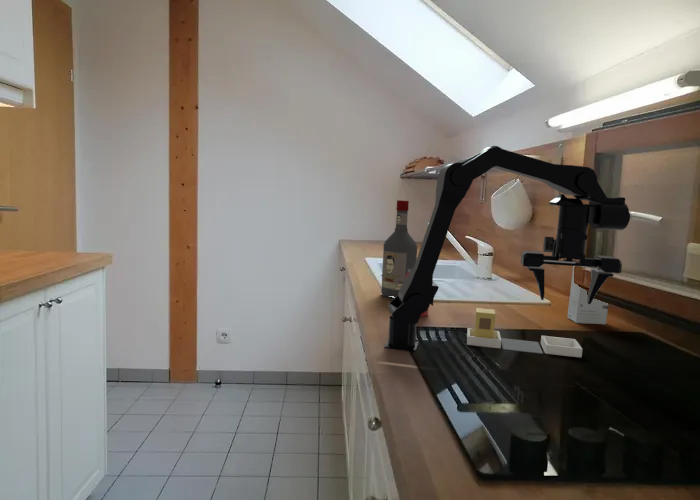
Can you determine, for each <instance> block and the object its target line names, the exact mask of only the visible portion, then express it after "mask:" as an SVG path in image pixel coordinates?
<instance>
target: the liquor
mask: <svg viewBox="0 0 700 500" xmlns="http://www.w3.org/2000/svg"><path fill="white" fill-rule="evenodd" d="M409 204H410V203H409V200H399V199H398V200H396V220H395V228H394V231H393V232H392V233H391V235H389V237H388V238H387V239H386V240H385V241H384V243H383V248H382V249H383V254H382V271H381V272H382V273H381V288H380V291H381V294H382V297H385V298H387V297H386V296H394V297H396V296H397V295H398V294H399V290H400V288H401V286H402V284H403V283H404V281H405V278H406V275H407V273H408V270H412V269H413V267H414V265H415V263H416V260H417V257H418V245H417V243H416V241H415V240H414V238H413V237H412V236H411V234H410V233H409V231H408V214H409V213H408V211H409Z"/></svg>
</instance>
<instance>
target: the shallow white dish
mask: <svg viewBox="0 0 700 500" xmlns="http://www.w3.org/2000/svg"><path fill="white" fill-rule="evenodd" d="M474 329H475V327H474V328H472V327H467V332H466V345H468V346H475V347H483V348H493V349H501V348H502V342H501V338H502V337H501V333H500V331H499V330H494V339H493V338H483V337H474Z"/></svg>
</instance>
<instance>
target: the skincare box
mask: <svg viewBox="0 0 700 500" xmlns="http://www.w3.org/2000/svg"><path fill="white" fill-rule="evenodd" d="M574 267H575V266H572V275H571V283H570V290H569V291H570V293H569V302H568V307H567V308H568V309H567V319H569V320H571V321H572V322H573V323H575V324H585V325H586V324H588V325H606V324H607V318H608V310H609V304H608V303H605V302H602V301H600V300H597V299H593V300H592V302H591V304H588V303H587V298H588V295H587V291H586V290H585V289H583V288H581V287H579V286H578V285H577V284H575V283H574Z"/></svg>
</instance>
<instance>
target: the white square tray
mask: <svg viewBox="0 0 700 500" xmlns="http://www.w3.org/2000/svg"><path fill="white" fill-rule="evenodd" d="M540 346H541V347H542V349H543V350H542V351H543V353H545V354H547V355H556V356H565V357H572V358H573V357H575V358H582V356H583V347H582V346H581V345H580V343H579V342H578V341H577V339H575V338H568V337H567V338H566V337H557V336H549V335H541V338H540Z"/></svg>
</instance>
